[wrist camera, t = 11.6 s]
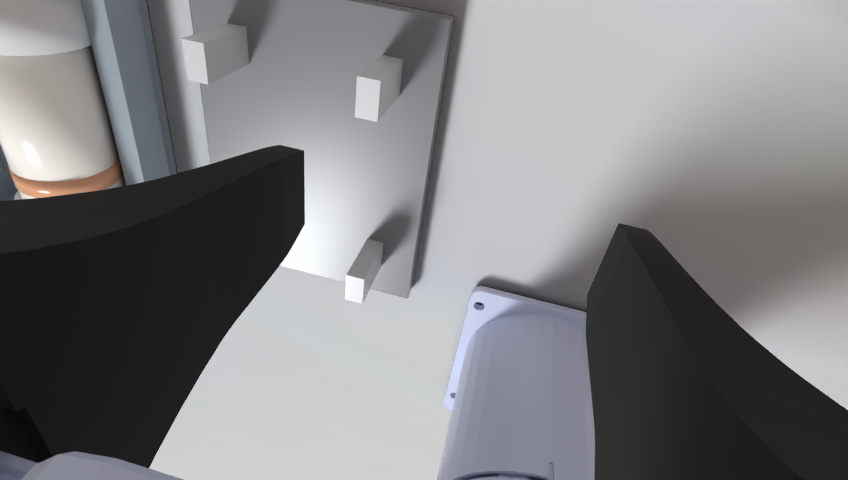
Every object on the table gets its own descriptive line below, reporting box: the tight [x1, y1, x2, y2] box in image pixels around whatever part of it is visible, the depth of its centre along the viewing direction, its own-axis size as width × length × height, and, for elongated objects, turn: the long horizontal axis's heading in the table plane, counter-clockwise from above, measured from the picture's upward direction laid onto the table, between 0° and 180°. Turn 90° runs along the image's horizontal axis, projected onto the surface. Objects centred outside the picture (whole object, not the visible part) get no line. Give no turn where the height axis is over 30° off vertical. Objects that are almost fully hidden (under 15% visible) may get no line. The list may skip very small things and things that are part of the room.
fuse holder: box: [182, 0, 454, 304], centre depth 21 cm, size 13×10×4 cm
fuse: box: [0, 0, 126, 200], centre depth 21 cm, size 10×5×5 cm
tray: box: [0, 0, 177, 201], centre depth 23 cm, size 15×11×2 cm
